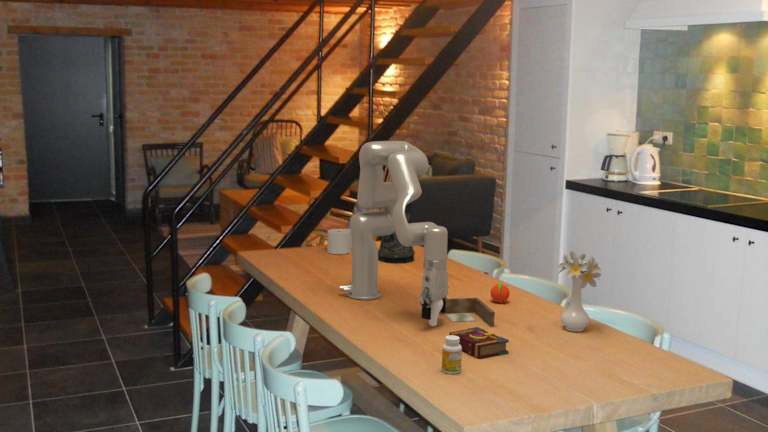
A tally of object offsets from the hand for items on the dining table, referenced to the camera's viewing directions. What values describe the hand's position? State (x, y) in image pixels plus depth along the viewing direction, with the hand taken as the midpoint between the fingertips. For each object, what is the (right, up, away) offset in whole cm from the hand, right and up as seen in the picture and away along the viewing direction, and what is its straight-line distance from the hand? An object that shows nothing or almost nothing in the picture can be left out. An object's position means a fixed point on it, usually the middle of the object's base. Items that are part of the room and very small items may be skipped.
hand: (433, 315), depth 275 cm
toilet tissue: (-37, +16, +113) cm, 120 cm away
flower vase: (+47, -5, +1) cm, 47 cm away
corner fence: (+9, -2, +10) cm, 14 cm away
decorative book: (+12, -8, -20) cm, 25 cm away
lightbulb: (0, -4, +1) cm, 4 cm away
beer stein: (-12, +13, +99) cm, 101 cm away
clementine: (+26, +1, +32) cm, 41 cm away
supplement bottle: (+3, -11, -40) cm, 41 cm away
